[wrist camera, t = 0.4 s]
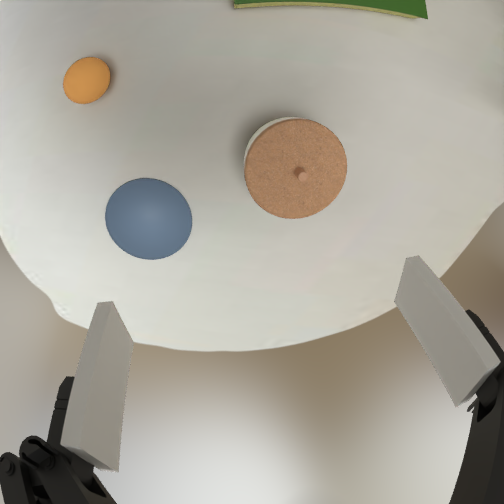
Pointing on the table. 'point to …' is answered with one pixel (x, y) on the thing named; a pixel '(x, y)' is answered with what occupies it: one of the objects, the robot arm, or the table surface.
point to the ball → (86, 80)
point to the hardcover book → (351, 5)
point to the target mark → (148, 218)
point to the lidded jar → (294, 167)
